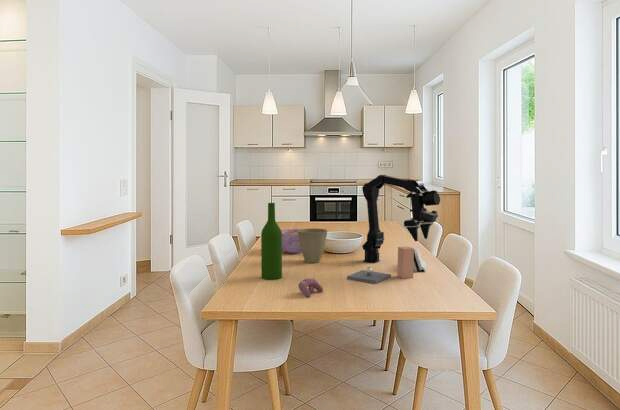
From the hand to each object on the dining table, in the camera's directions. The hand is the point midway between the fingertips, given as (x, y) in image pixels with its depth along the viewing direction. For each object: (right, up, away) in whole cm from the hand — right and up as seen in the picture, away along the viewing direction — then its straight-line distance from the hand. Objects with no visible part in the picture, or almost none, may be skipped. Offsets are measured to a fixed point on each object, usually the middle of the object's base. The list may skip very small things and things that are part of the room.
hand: (421, 240), depth 223 cm
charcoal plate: (-26, -15, -14) cm, 33 cm away
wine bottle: (-68, -15, -14) cm, 71 cm away
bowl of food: (-61, -10, +42) cm, 75 cm away
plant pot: (-51, -12, +18) cm, 55 cm away
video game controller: (-52, -18, -39) cm, 67 cm away
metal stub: (-26, -14, -14) cm, 33 cm away
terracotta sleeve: (-10, -15, -12) cm, 22 cm away
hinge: (0, -14, +6) cm, 15 cm away
